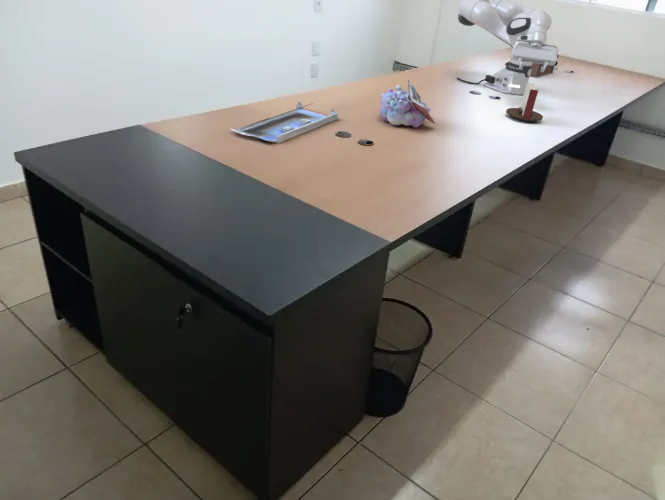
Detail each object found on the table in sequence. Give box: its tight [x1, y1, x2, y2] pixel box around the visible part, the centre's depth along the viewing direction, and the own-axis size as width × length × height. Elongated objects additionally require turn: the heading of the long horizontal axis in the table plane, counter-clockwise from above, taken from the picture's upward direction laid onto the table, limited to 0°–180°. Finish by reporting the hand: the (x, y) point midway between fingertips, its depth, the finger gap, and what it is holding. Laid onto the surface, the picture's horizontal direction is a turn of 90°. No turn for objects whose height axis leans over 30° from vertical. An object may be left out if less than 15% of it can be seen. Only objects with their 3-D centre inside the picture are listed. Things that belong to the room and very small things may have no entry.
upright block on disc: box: [505, 81, 544, 122], centre depth 242 cm, size 16×16×13 cm
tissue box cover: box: [530, 63, 556, 78], centre depth 336 cm, size 26×14×10 cm, turn 139°
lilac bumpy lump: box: [379, 79, 436, 129], centre depth 219 cm, size 20×22×18 cm
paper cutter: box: [230, 101, 339, 144], centre depth 203 cm, size 18×45×6 cm, turn 148°
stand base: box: [509, 115, 538, 124], centre depth 246 cm, size 12×12×1 cm
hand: (531, 69), depth 248 cm, fingers open, 8 cm apart
